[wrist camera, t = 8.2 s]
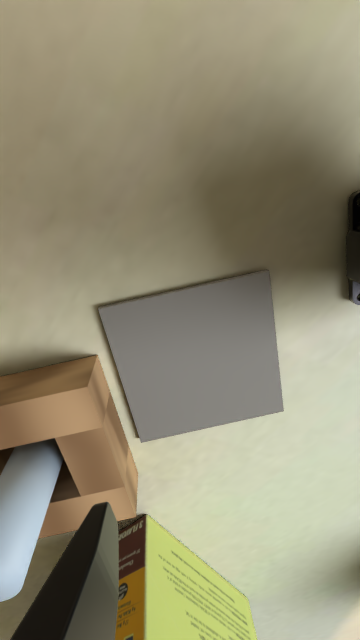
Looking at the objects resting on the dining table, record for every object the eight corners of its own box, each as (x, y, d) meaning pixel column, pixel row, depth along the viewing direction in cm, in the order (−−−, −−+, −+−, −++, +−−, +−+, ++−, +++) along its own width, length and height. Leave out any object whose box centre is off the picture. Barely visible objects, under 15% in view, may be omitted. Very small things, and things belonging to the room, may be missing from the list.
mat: (267, 269, 19) (269, 271, 19) (281, 407, 23) (283, 411, 23) (99, 306, 19) (98, 309, 19) (141, 438, 23) (141, 442, 23)
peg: (61, 412, 22) (6, 551, 14) (76, 446, 23) (33, 594, 15) (16, 422, 22) (-66, 566, 14) (33, 456, 23) (-33, 609, 15)
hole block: (97, 355, 21) (87, 386, 17) (137, 472, 24) (136, 517, 21) (-61, 390, 21) (-101, 428, 17) (4, 502, 24) (-18, 551, 21)
